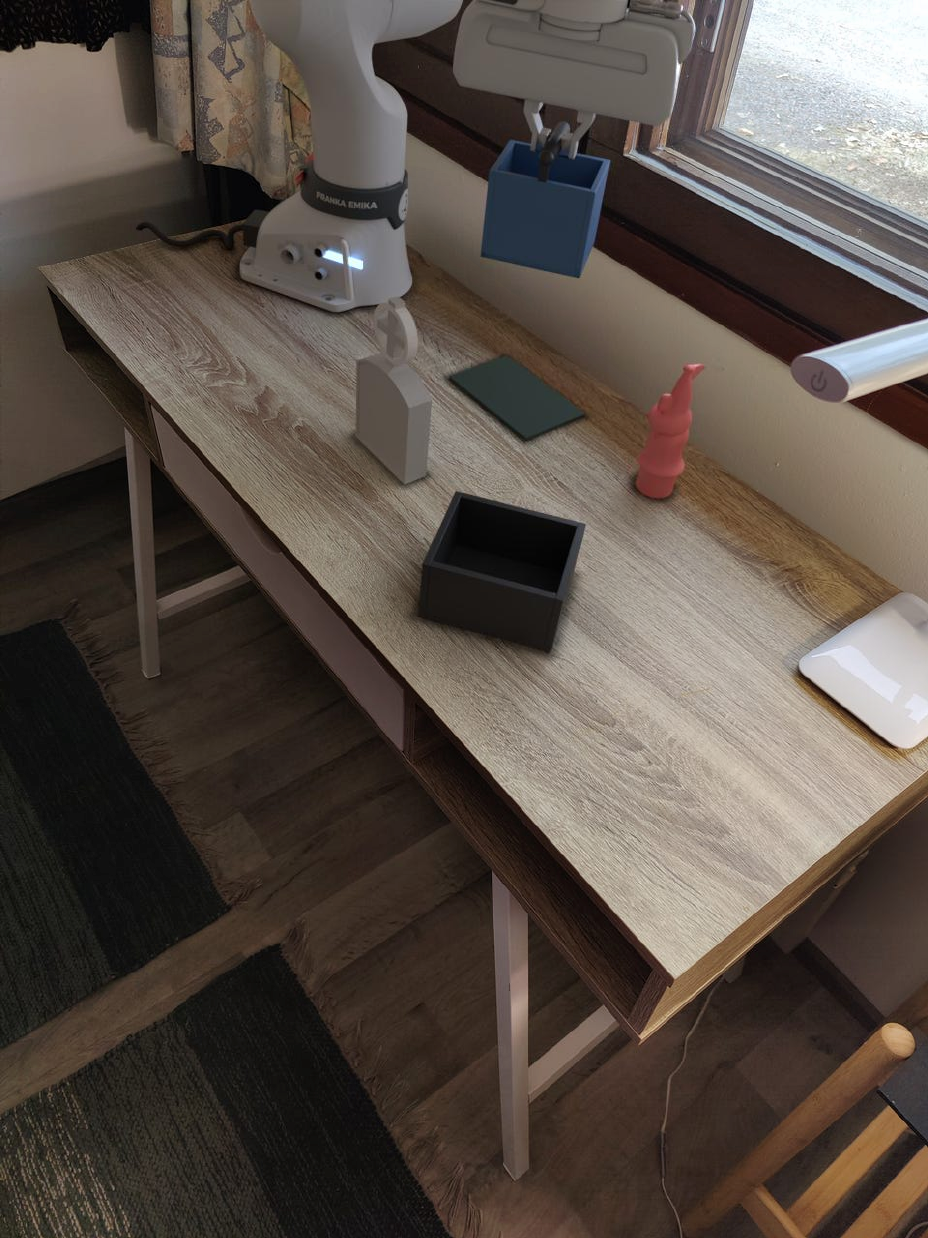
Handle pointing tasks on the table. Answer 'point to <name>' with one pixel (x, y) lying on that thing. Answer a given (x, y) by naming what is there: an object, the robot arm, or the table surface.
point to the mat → (516, 397)
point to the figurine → (667, 437)
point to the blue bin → (543, 206)
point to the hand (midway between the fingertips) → (552, 153)
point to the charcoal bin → (500, 570)
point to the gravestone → (394, 396)
